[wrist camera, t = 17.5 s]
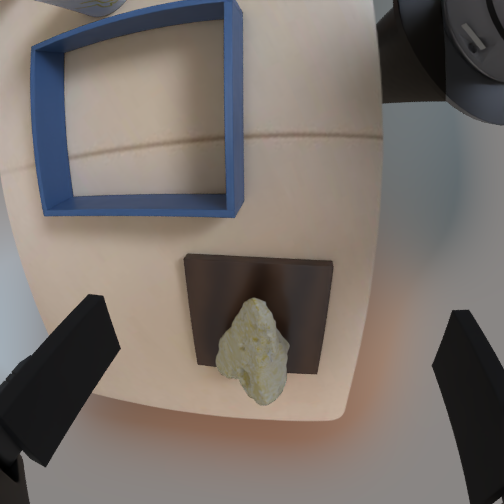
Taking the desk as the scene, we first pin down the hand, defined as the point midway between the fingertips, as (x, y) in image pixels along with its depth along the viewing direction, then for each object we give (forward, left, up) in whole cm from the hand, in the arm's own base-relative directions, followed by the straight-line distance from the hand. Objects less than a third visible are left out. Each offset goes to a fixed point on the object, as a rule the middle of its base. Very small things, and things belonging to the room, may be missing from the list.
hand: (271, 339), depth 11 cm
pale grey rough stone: (+4, +19, -25) cm, 31 cm away
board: (+3, +19, -26) cm, 32 cm away
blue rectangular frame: (+17, -8, -26) cm, 33 cm away
